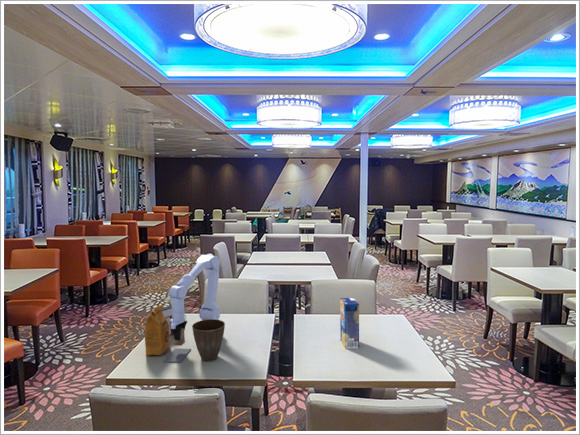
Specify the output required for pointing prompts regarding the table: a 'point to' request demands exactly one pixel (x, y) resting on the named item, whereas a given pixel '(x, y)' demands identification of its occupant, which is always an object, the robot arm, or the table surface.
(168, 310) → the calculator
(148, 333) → the coffee package
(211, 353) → the plant pot
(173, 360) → the rubber mat
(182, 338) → the walnut block
